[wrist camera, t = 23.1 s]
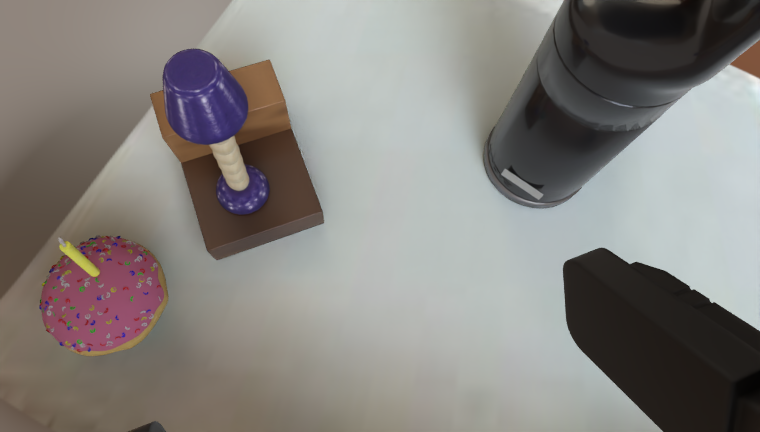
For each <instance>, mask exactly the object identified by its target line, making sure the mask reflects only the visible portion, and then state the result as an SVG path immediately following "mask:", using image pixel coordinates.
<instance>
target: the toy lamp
mask: <svg viewBox="0 0 760 432" xmlns="http://www.w3.org/2000/svg"><path fill="white" fill-rule="evenodd" d="M163 93H164V105H165V113H166V117H167V120H168V123H169V124H170V126H171V128H172V129H173V130H174V132H175V133H176V134H177V135H179V136H180V137H181V138H183V139H185V140H186V141H189V142H192V143H195V144H202V145H209V146H210V148H211V149H212V151H213V155H214V157H215V158H216V160H217V163H218V166H219V167H220V169H221V170H222V174H221V176H220V177H219V179H218V182H217V185H216V195H217V199H218V201H219V203H220V204H221V206H222V207H223V208H224V209H226V210H228V211H229V212H231V213H234V214H239V215H245V214H249V213H252V212H255V211H257V210H258V209H260V208H261V207H262V206H263V205H264V203H265V202H266V201H267V199H268V195H269V192H270V187H269V182H268V180H267V178H266V176H265V175H264V174H263V173H262V172H261V171H260V170H259V169H257V168H255V167H253V166H251V165H246V164H244V163H243V158H242V155H241V154H240V149H239V147H238V145H237V143H236V139H235V136H234V135H235V134H237V133H238V132H239V130H240V129H241V128H242V126H243V125H244V123H245V121H246V119H247V115H248V100H247V96H246V94H245V92H244V89H243V88H242V86H241V85H240V84H239V83H238V82H237V80H236V79H235V78H234V77H233V76H232V74H231V73H230V72H229V71H228V70H227V69H226V67H225V66H224V65H223V64H222V63H221V62H220V61H219V60H218V59H217V58H216V57H215V56H214V55H212V54H211V53H209V52H207V51H204V50H200V49H187V50H183V51H180V52H178V53H176V54H175V55H173V56H172V57H171V58H170V59H169V60H168V62H167V63H166V65H165V68H164V72H163Z"/></svg>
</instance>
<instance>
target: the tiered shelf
mask: <svg viewBox="0 0 760 432" xmlns="http://www.w3.org/2000/svg"><path fill="white" fill-rule="evenodd" d="M229 72H230V73H231V74H232V76H233V77H234V78H235V79H236V80H237V82H238V83H239V84H240V85H241V86H242V88H243V89H244V92H245V94H246V96H247V100H248V115H247V119H246V121H245V123H244V125H243V126H242V128H241V129H240V130H239V132H238V133H237V134H235V135H234V136H235V139H236V143H237V145H238V147H239V149H240V154H241V155H242V158H243V163H244V164H246V165H251V166H253V167H255V168H257V169H259V170H260V171H261V172H262V173H263V174H264V175H265V176H266V178H267V180H268V182H269V187H270V192H269V195H268V199H267V201H266V202H265V203H264V205H263V206H262V207H261V208H260V209H258V210H257V211H255V212H252V213H249V214H245V215H239V214H234V213H231V212H229V211H228V210H226V209H224V208H223V207H222V206H221V204H220V203H219V201H218V199H217V195H216V185H217V182H218V179H219V177H220V176H221V174H222V170H221V169H220V167H219V166H218V163H217V160H216V158H215V157H214V155H213V151H212V149H211V148H210V146H209V145H202V144H195V143H192V142H189V141H186V140H185V139H183V138H181V137H180V136H179V135H177V134H176V133H175V132H174V130H173V129H172V128H171V126H170V124H169V123H168V120H167V117H166V113H165V105H164V93H163V90H162V91H159V92H155V93H152V94H150V97H151V100H152V103H153V107H154V110H155V114H156V117H157V121H158V124H159V128H160V131H161V134H162V138H163V139H164V140H165V142H166V143H167V145H168V146H169V147H170V149H171V150H172V151H173V153H174V154H175V155H176V157H177V158H178V159H179V161H180V162H181V164H182V168H183V171H184V174H185V178H186V181H187V184H188V188H189V191H190V194H191V198H192V201H193V205H194V208H195V211H196V215H197V218H198V221H199V225H200V228H201V232H202V235H203V238H204V242H205V245H206V248H207V251H208V252H209V253H210V254H211V255H212V256H213V257H214V258H215V259H216V260H219V259H222V258H225V257H228V256H231V255H234V254H236V253H239V252H242V251H245V250H248V249H251V248H254V247H257V246H259V245H262V244H265V243H268V242H271V241H274V240H277V239H279V238H282V237H285V236H288V235H291V234H294V233H297V232H300V231H302V230H305V229H308V228H311V227H314V226H317V225H320V224H322V223H324V218H323V212H322V209H321V206H320V203H319V201H318V198H317V195H316V193H315V190H314V187H313V185H312V182H311V179H310V177H309V174H308V171H307V169H306V166H305V163H304V161H303V158H302V155H301V153H300V150H299V147H298V145H297V142H296V139H295V137H294V134H293V131H292V129H291V124H290V120H289V115H288V111H287V106H286V102H285V99H284V96H283V93H282V91H281V88H280V85H279V83H278V80H277V77H276V75H275V72H274V70H273V67H272V64H271V62H270V60H266V61H263V62H259V63H256V64H252V65H249V66H245V67H242V68H238V69H235V70H231V71H229Z"/></svg>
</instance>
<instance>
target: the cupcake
mask: <svg viewBox="0 0 760 432" xmlns="http://www.w3.org/2000/svg"><path fill="white" fill-rule="evenodd" d="M97 236H99V238H98V237H97ZM97 236H96V238H90V239H89V240H88V241H86V242H84V241H83V242H81V243H82V244H81V243H80V245H78V246H77V247H74V246H73V245H72V244H71V243H70V242H68V241H63V240H62V239H61V237H58V241H59V242H60V243H61V244H60V246H59V248H60V250H61V251H62V252H64V253H65V254H66V255H65V256H62V257H63V258H62V257H61V258H60V260H61V261H58V263H57V265H53V266H54V267H53V266H52V269H51V270H52V271H51V270H50V271H49V273H50V274H49V275H48V276H47V280H46V281H45V282H44V283H43V284H45V285H43V284H42V286H44V287H43V291H42V297H41V300H40V309H41V310H42V317H43V322H44V325H45V327H46V329H47V330H46V331H48V332H49V333H51V334H52V335H53V336H54V337H55V339H56V340H57V341H58V342H60V345H61V346H65V347H66V348H67V349H69V350H71V351H72V352H75V353H77V354H81V355H85V356H100V355H106V354H110V353H113V352H117V351H120V350H125V349H130V348H132V347H134V346H135V345H137V344H138V343H140V342H141V341H142V340H143V339H144V338H145V337H146V336H147V335H148V334H149V332H150V331H151V330H152V329H153V327H154V325H155V324H156V322H157V321H158V319H159V317H160V315H161V314H162V312H163V310H164V308H165V306H166V304H167V302H168V292H167V286H166V280H165V277H164V273H163V270H162V268H161V265H160V263H159V262H158V260H157V259H156V258H155V256H154V255H153V254H152V253H151V252H150V251H149V250H147V249H146V248H145V247H143V246H141V245H139V244H137V243H135V242H132V241H129V240H126V239H123V238H120V236H118V237H112V236H102V237H101V236H100V235H97ZM91 239H92V240H91Z"/></svg>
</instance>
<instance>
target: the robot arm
mask: <svg viewBox="0 0 760 432" xmlns="http://www.w3.org/2000/svg"><path fill="white" fill-rule="evenodd" d="M759 40H760V0H564V1H563V3H562V5H561V7H560V8H559V10H558V12H557V14H556V16H555V18H554V20H553V21H552V23H551V25H550V27H549V29H548V31H547V32H546V34H545V36H544V38H543V40H542V42H541V44H540V46H539V48H538V49H537V51H536V53H535V55H534V57H533V59H532V60H531V62H530V64H529V66H528V68H527V70H526V71H525V73H524V75H523V77H522V79H521V81H520V82H519V84H518V86H517V88H516V90H515V92H514V93H513V95H512V97H511V99H510V101H509V103H508V104H507V106H506V108H505V110H504V112H503V113H502V115H501V117H500V119H499V121H498V122H497V124H496V125H495V127H494V128H493V130H492V131H491V133H490V135H489V137H488V139H487V141H486V144H485V148H484V164H485V168H486V171H487V174H488V176H489V178H490V180H491V181H492V183H493V184H494V186H495V187H496V188H497V189H498V190H499V191H500V192H501V193H502V194H503V195H504V196H506V197H507V198H509V199H510V200H512V201H514V202H516V203H518V204H521V205H523V206H527V207H532V208H549V207H554V206H557V205H560V204H562V203H564V202H565V201H567V200H568V199H570V198H571V197H572V196H573V195H574V194H576V193H577V192H578V191H579V190H580V188H581V187H582V186H583V185H584V184H585V183H586V182H587V181H589V180H590V179H591V178H592V177H593V176H594V175H595V174H597V173H598V172H599V171H600V170H601V169H602V168H603V167H604V166H605V165H607V164H608V163H609V162H610V161H611V160H612V159H613V158H614V157H616V156H617V155H618V154H619V153H620V152H621V151H622V150H623V149H624V148H626V147H627V146H628V145H629V144H630V143H631V142H632V141H633V140H635V139H636V138H637V137H638V136H639V135H640V134H641V133H642V132H643V131H645V130H646V129H647V128H648V127H649V126H650V125H651V124H652V123H654V122H655V121H656V120H657V119H658V118H659V117H660V116H661V115H662V114H663V113H664V112H665V111H667V110H668V109H669V108H670V107H671V106H672V105H673V104H674V103H676V102H677V101H678V100H679V99H680V98H681V97H682V96H683V95H685V94H686V93H687V92H688V91H689V90H691V89H692V88H693V87H695V86H698V85H700V84H702V83H704V82H706V81H708V80H709V79H711V78H712V77H714V76H715V75H716V74H718V73H719V72H720V71H721V70H723V69H724V68H725V67H726V66H728V65H729V64H730V63H731V62H732V61H734V60H735V59H736V58H737V57H738V56H740V54H742V53H743V52H745V51H746V50H747V49H748V48H750V47H751V46H752V45H754V44H755V43H756V42H757V41H759ZM563 278H564V293H565V308H566V321H567V326H568V329H569V331H570V334H571V336H572V338H573V340H574V341H575V343H576V344H577V346H578V347H579V348H580V349H581V350H582V352H583V353H584V354H586V355H587V356H588V357H589V358H590V359H591V360H592V361H593V362H594V363H595V364H596V365H597V366H598V367H599V368H600V369H601V370H602V371H603V372H604V373H605V374H606V375H607V376H608V377H609V378H610V379H611V380H612V381H613V382H614V383H615V384H616V385H617V386H618V387H619V388H620V389H621V390H622V391H623V392H624V393H625V394H626V395H627V396H628V397H629V398H630V399H631V400H632V401H633V402H634V403H635V404H636V405H637V406H638V407H639V408H640V409H641V410H642V411H643V412H644V413H645V414H646V415H647V416H648V417H649V418H650V419H651V420H652V421H653V422H654V423H655V424H656V425H657V426H658V427H659V428H660V429H661V430H662V431H663V432H760V331H759V330H757V329H755V328H754V327H752V326H751V325H749V324H748V323H746V322H745V321H743V320H741V319H740V318H738V317H737V316H735V315H734V314H732V313H730V312H729V311H727V310H726V309H724V308H723V307H721V306H719V305H718V304H716V303H715V302H714V303H711V302H710V300H709V299H708V298H707V297H705V296H704V295H702V294H701V293H699V292H697V291H696V290H691V289H690V287H689V286H688V285H687V284H685V283H683V282H682V281H680V280H679V279H677V278H676V277H674V276H672V275H671V274H669V273H668V272H666V271H664V270H660V269H657V268H654V267H651V266H648V265H645V264H642V263H639V262H634V263H632V264H628V263H627V262H625V261H624V260H623V259H621V258H620V257H618V256H617V255H615V254H614V253H612V252H611V251H609V250H607V249H605V248H598V249H595V250H593V251H590V252H588V253H585V254H583V255H580V256H577V257H575V258H572V259H570V260H567V261H566V262H565V263H564V266H563ZM128 432H166V431H165V430H164V428H163V427H162V425H161V424H160V423H158V422H156V421H154V422H151V423H149V424H146V425H144V426H141V427H139V428H136V429H134V430H131V431H128Z"/></svg>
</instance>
